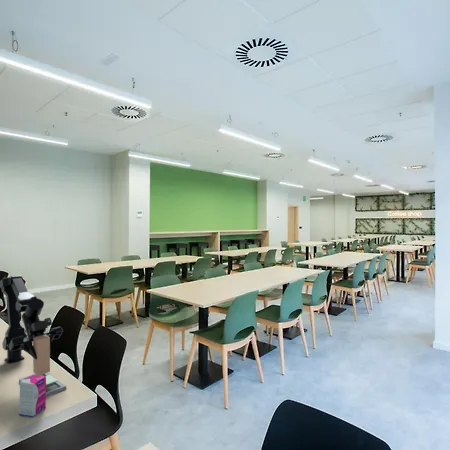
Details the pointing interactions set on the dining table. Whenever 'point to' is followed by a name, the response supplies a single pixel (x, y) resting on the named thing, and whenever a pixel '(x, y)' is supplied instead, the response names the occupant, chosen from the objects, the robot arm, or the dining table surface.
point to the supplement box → (32, 395)
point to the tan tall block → (41, 355)
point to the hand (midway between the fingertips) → (42, 356)
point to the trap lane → (50, 384)
